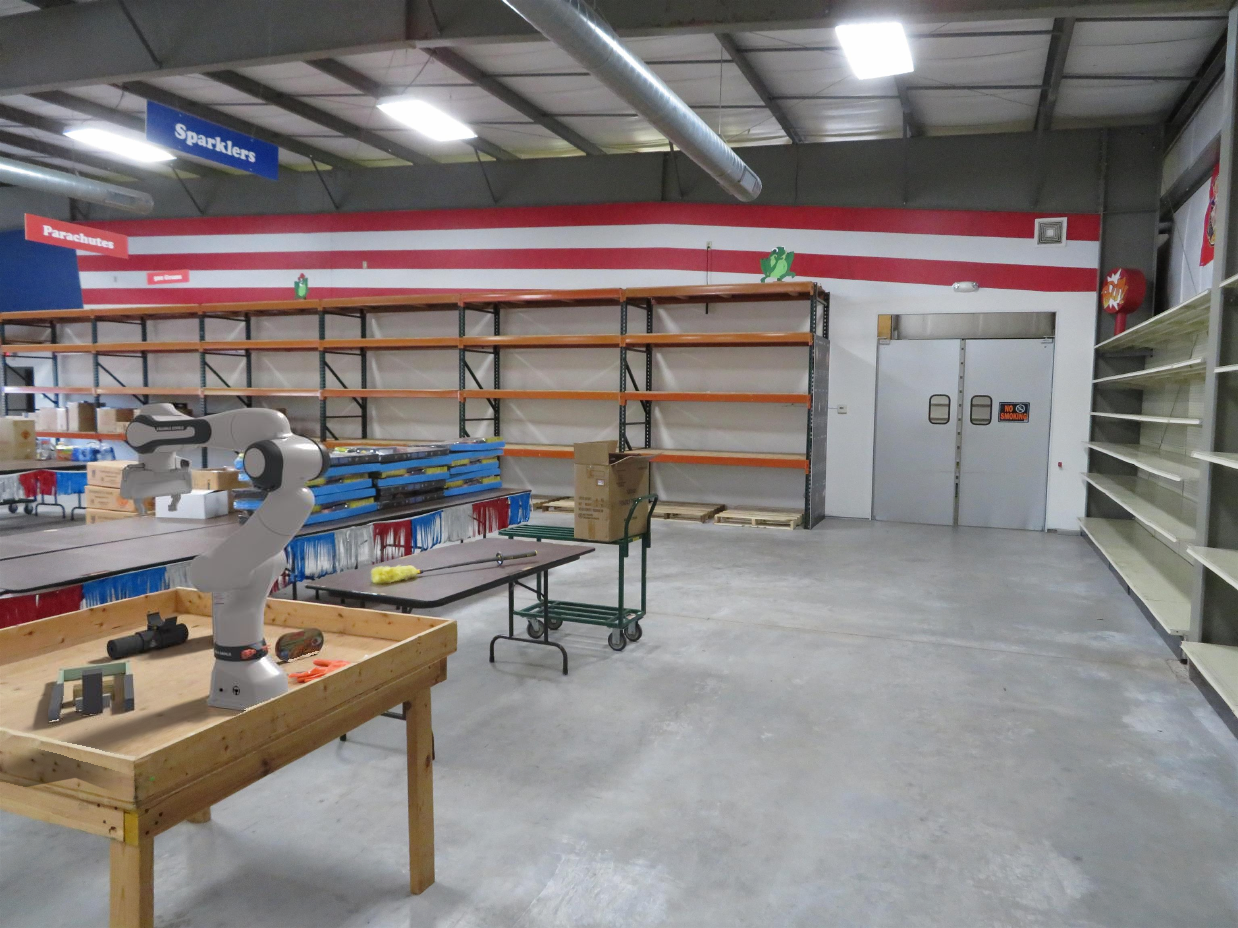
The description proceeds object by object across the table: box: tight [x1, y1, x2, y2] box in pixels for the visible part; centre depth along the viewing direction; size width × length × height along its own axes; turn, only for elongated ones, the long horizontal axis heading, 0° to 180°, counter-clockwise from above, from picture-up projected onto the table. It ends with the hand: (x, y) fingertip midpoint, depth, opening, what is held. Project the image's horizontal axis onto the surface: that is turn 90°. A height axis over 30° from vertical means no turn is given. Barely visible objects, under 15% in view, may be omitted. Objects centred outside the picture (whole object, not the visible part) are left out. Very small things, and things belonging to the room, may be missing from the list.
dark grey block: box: [75, 668, 111, 716], centre depth 191 cm, size 5×7×10 cm
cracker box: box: [211, 590, 232, 647], centre depth 251 cm, size 14×6×21 cm, turn 24°
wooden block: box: [72, 683, 82, 706], centre depth 197 cm, size 4×4×4 cm
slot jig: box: [48, 673, 135, 722], centre depth 196 cm, size 20×17×3 cm
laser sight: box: [106, 611, 190, 660], centre depth 239 cm, size 10×22×10 cm, turn 152°
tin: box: [274, 627, 325, 662], centre depth 235 cm, size 15×3×8 cm, turn 146°
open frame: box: [56, 660, 132, 684], centre depth 210 cm, size 13×16×3 cm
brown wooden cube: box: [103, 679, 115, 701], centre depth 199 cm, size 4×4×4 cm
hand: (157, 513), depth 214 cm, fingers open, 8 cm apart
